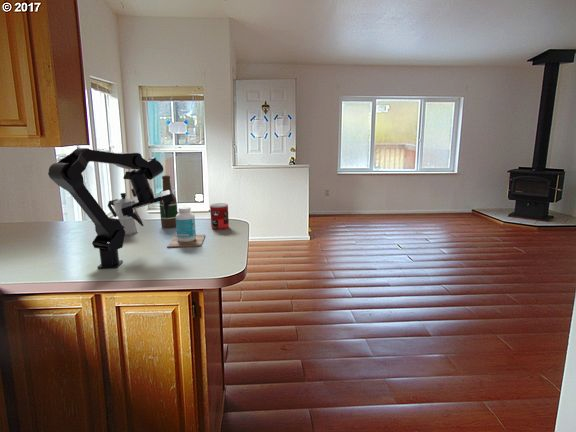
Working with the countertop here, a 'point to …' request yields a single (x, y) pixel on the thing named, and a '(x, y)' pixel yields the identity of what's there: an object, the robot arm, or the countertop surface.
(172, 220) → the beer bottle
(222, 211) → the canned food
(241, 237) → the countertop surface
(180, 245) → the walnut board
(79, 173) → the robot arm
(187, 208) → the pill bottle
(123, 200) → the coffee maker
